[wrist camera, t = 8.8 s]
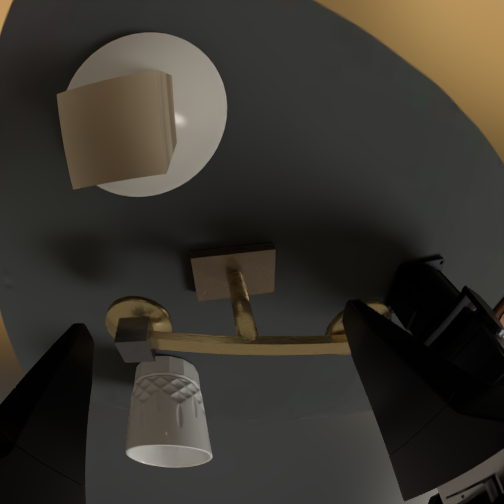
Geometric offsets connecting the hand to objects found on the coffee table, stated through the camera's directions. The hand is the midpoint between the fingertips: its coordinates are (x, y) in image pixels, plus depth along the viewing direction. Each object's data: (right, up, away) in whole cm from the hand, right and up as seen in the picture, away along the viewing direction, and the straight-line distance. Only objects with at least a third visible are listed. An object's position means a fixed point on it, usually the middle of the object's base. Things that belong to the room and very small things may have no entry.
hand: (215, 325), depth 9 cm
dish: (-5, +11, +6) cm, 13 cm away
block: (-5, +10, +5) cm, 12 cm away
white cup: (-8, -10, +19) cm, 23 cm away
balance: (0, +1, +13) cm, 13 cm away
